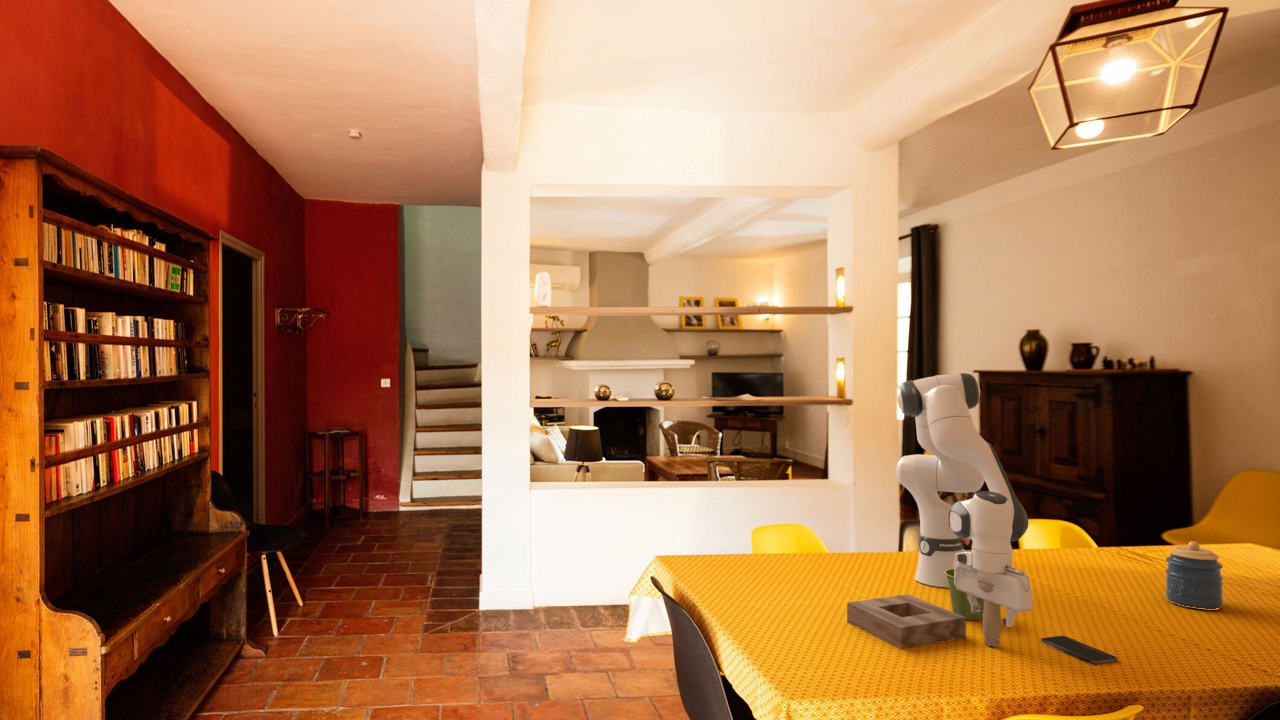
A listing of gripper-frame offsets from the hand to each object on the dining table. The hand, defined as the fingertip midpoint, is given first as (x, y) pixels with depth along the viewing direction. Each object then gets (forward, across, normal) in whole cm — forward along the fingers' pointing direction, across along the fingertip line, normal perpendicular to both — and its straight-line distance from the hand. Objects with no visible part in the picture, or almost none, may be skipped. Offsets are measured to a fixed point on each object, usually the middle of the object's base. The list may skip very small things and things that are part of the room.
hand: (991, 619), depth 177 cm
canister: (+6, +3, -79) cm, 79 cm away
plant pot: (+6, +18, -11) cm, 22 cm away
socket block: (+6, +16, +12) cm, 21 cm away
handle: (+6, 0, 0) cm, 6 cm away
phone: (+7, -10, -16) cm, 20 cm away
